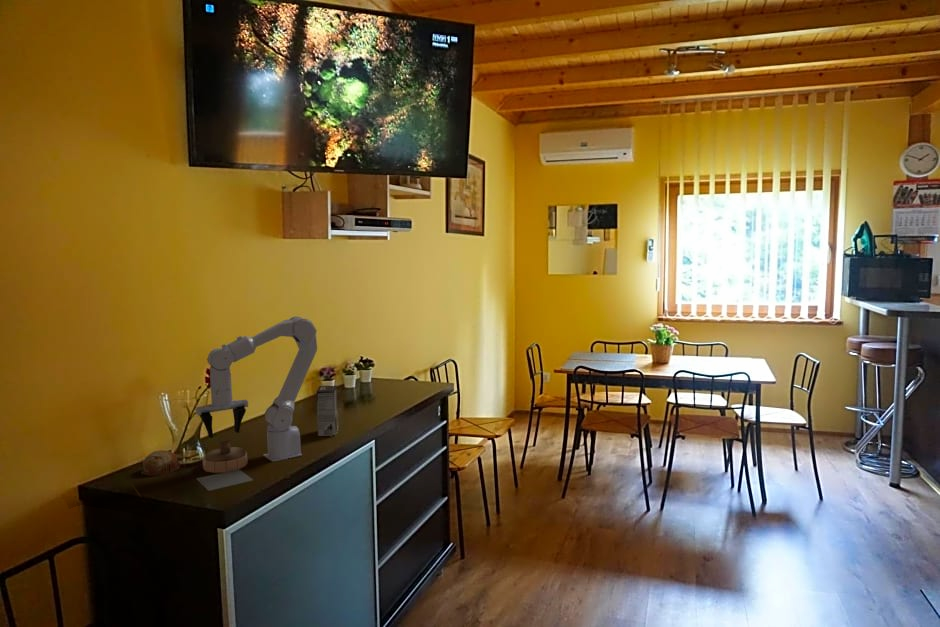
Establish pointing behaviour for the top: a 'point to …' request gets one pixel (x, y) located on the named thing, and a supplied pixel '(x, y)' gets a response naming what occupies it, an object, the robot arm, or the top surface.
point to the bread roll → (160, 463)
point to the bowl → (225, 464)
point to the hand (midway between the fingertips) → (223, 434)
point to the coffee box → (327, 410)
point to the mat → (224, 479)
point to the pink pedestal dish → (225, 452)
